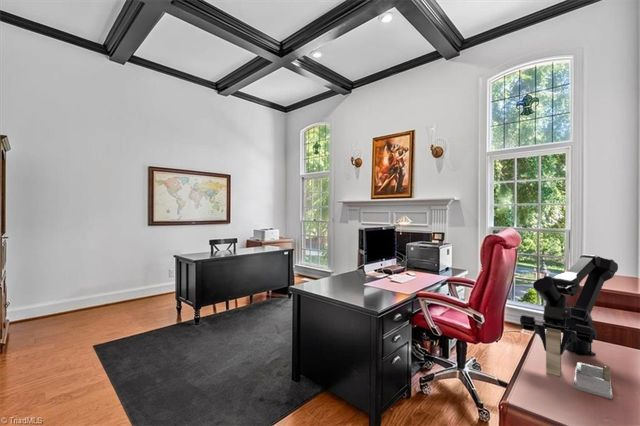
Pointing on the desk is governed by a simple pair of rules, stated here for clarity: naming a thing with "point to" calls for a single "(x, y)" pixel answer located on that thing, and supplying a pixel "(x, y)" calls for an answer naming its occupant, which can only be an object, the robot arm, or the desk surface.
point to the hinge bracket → (593, 379)
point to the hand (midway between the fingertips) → (553, 352)
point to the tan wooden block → (553, 351)
